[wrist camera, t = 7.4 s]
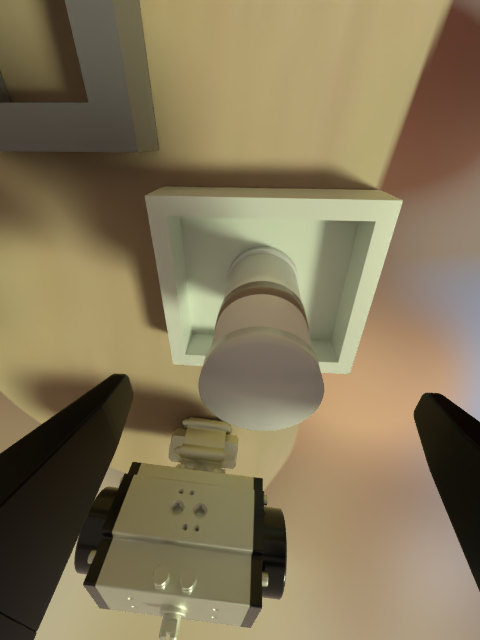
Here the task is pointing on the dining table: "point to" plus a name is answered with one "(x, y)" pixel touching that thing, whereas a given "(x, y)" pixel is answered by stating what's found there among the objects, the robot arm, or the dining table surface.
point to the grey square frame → (93, 90)
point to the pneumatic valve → (185, 537)
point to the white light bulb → (261, 347)
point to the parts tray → (278, 232)
